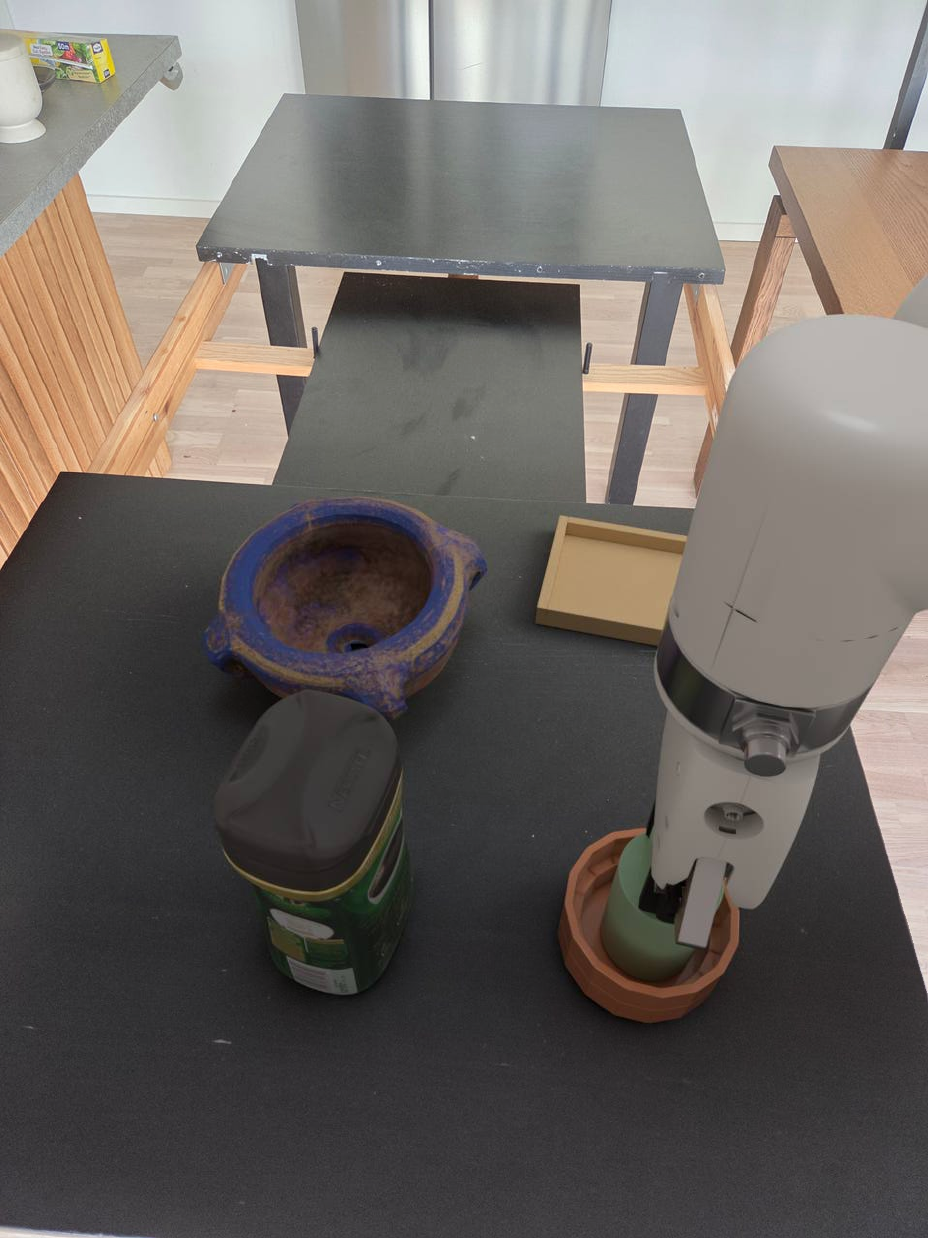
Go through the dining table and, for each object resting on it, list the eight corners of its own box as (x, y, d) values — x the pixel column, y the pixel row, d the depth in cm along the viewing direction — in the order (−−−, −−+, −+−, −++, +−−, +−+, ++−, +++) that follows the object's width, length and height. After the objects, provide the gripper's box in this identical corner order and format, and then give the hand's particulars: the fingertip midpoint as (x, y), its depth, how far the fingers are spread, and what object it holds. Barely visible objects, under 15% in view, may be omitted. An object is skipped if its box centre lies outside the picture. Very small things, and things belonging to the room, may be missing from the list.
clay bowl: (721, 884, 54) (740, 848, 51) (715, 1044, 48) (737, 1016, 44) (570, 851, 56) (579, 813, 52) (545, 1001, 49) (553, 971, 46)
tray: (732, 560, 74) (737, 544, 73) (728, 659, 67) (734, 643, 65) (557, 531, 77) (559, 514, 75) (535, 623, 69) (536, 607, 68)
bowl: (190, 700, 64) (155, 611, 56) (319, 553, 74) (304, 462, 67) (398, 793, 58) (390, 709, 51) (504, 621, 69) (510, 530, 62)
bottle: (696, 901, 53) (743, 804, 44) (690, 991, 49) (741, 906, 40) (606, 881, 53) (635, 781, 44) (594, 968, 50) (623, 880, 41)
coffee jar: (318, 833, 56) (274, 657, 43) (429, 868, 55) (421, 697, 41) (249, 973, 50) (173, 821, 36) (373, 1018, 49) (341, 875, 35)
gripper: (888, 885, 25) (740, 1056, 39) (852, 527, 36) (745, 759, 50) (638, 832, 27) (579, 1016, 40) (675, 501, 37) (619, 735, 51)
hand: (672, 872), depth 45 cm, fingers closed on bottle, 3 cm apart
